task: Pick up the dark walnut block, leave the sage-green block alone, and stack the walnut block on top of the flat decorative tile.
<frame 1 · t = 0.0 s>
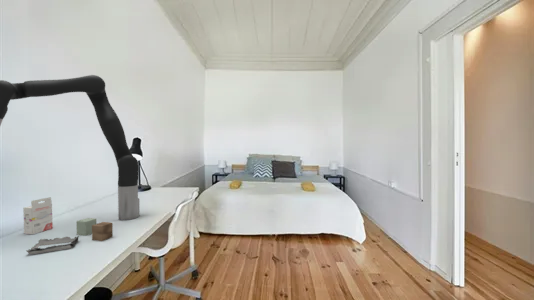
walnut block: (102, 238, 102), on the table
ink cartridge box: (38, 231, 111), on the table
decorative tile: (54, 249, 93), on the table
sage block: (86, 233, 108), on the table
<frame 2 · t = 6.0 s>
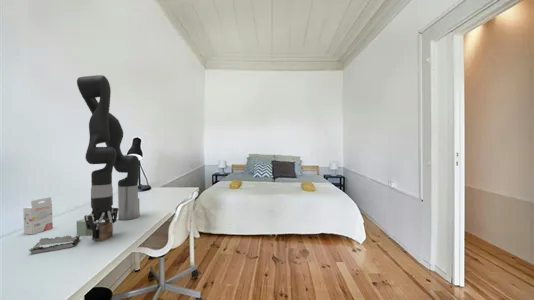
hand: (102, 236, 102), 1 cm above the table, tool pointing down, fingers closed on walnut block, 5 cm apart
walnut block: (102, 238, 102), on the table, touching gripper
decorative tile: (56, 248, 94), on the table
everything else where it was.
when the fingers open (5 cm above the table, at t = 11.9 s): walnut block drops 2 cm, resting on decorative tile.
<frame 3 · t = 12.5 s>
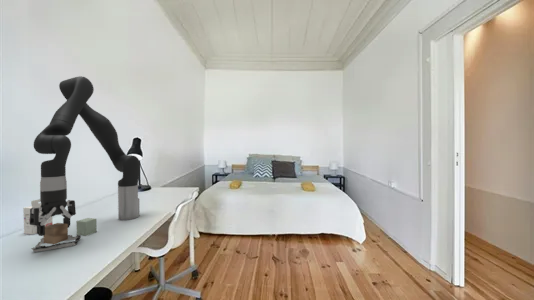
hand: (54, 231, 92), 6 cm above the table, tool pointing down, fingers open, 8 cm apart
walnut block: (56, 241, 93), point 2 cm above the table, touching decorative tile
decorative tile: (58, 247, 95), on the table, touching walnut block
everything else where it was.
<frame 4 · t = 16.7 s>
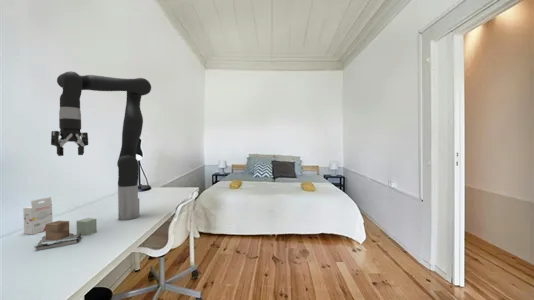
hand: (70, 155, 108), 34 cm above the table, tool pointing down, fingers open, 8 cm apart
walnut block: (57, 238, 96), point 2 cm above the table, touching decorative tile
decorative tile: (60, 245, 97), on the table, touching walnut block
everything else where it was.
at the end: walnut block inside the target area on the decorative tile (0.8 cm from its centre), point 3.0 cm above the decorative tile's base; walnut block tilted 0°; the gripper is holding nothing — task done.
